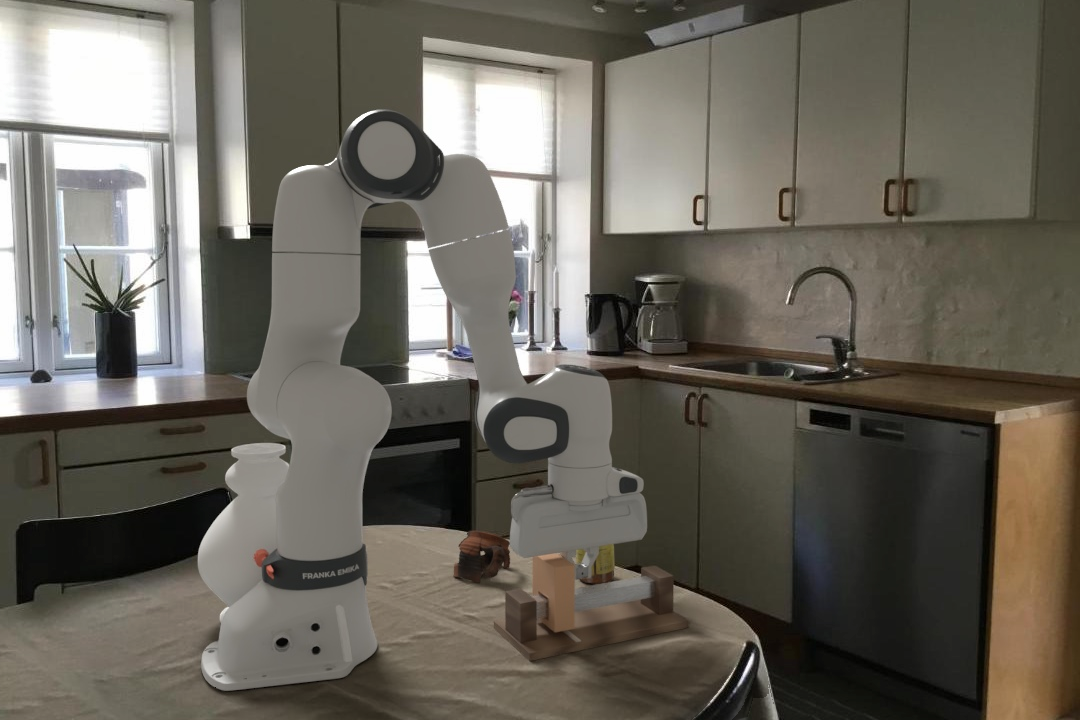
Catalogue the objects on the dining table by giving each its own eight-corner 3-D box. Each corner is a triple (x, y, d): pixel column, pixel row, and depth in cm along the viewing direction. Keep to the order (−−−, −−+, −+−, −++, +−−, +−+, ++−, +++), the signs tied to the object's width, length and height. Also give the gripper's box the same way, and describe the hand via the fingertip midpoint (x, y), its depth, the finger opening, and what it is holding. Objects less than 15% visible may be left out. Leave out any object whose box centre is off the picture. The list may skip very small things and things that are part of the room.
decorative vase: (281, 647, 126) (274, 466, 123) (173, 630, 131) (164, 456, 128) (349, 601, 142) (345, 440, 139) (250, 587, 148) (245, 433, 145)
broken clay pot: (439, 575, 155) (453, 527, 158) (486, 591, 159) (499, 544, 162) (474, 577, 145) (488, 526, 148) (523, 594, 149) (536, 544, 152)
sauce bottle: (614, 573, 155) (615, 455, 152) (614, 586, 148) (615, 464, 146) (575, 571, 155) (575, 455, 153) (573, 585, 149) (573, 463, 147)
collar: (554, 632, 126) (554, 568, 125) (532, 614, 132) (532, 552, 131) (574, 628, 127) (574, 564, 126) (551, 610, 133) (551, 550, 132)
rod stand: (529, 660, 121) (529, 613, 121) (493, 627, 132) (493, 583, 131) (688, 627, 132) (689, 583, 132) (643, 599, 143) (644, 558, 142)
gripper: (521, 495, 122) (521, 597, 123) (653, 478, 130) (652, 574, 132) (501, 484, 127) (502, 582, 129) (630, 469, 136) (629, 560, 138)
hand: (579, 577), depth 131 cm, fingers closed
